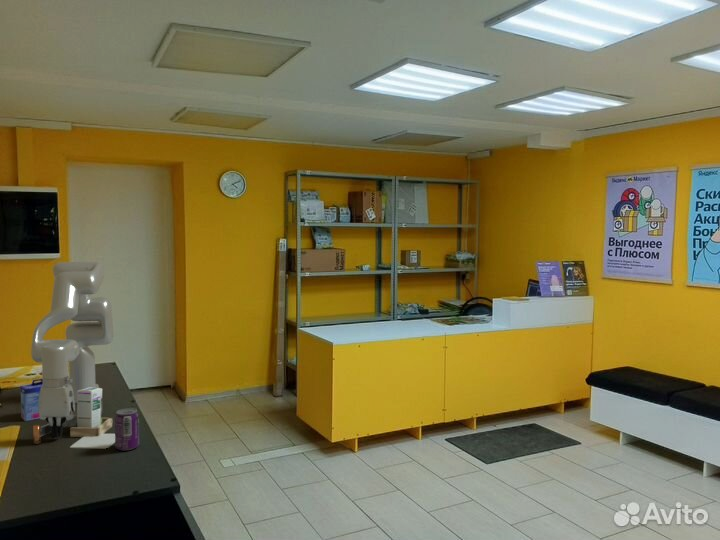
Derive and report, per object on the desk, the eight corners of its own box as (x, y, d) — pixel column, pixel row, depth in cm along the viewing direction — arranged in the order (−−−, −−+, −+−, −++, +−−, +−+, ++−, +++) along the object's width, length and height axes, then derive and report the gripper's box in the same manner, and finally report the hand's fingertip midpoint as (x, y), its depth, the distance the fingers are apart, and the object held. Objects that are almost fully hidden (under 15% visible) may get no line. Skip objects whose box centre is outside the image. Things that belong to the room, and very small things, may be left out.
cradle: (86, 425, 203) (86, 417, 203) (113, 426, 203) (112, 417, 203) (70, 436, 192) (70, 428, 192) (98, 437, 192) (98, 428, 192)
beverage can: (144, 445, 185) (143, 409, 185) (128, 453, 179) (127, 415, 178) (126, 442, 188) (125, 406, 187) (110, 450, 181) (109, 413, 180)
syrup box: (91, 433, 194) (92, 390, 194) (76, 432, 195) (77, 389, 195) (102, 429, 200) (103, 387, 200) (87, 427, 201) (88, 386, 201)
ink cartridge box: (25, 422, 206) (23, 382, 205) (20, 418, 210) (18, 379, 209) (54, 415, 213) (53, 377, 212) (49, 412, 217) (48, 374, 216)
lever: (79, 424, 203) (79, 408, 203) (84, 425, 202) (84, 409, 202) (31, 443, 185) (31, 426, 185) (37, 444, 184) (36, 427, 184)
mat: (88, 434, 194) (88, 433, 194) (123, 434, 194) (123, 433, 194) (69, 448, 182) (69, 446, 182) (107, 448, 182) (107, 447, 182)
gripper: (83, 379, 192) (85, 432, 193) (39, 378, 191) (40, 432, 193) (73, 385, 184) (74, 440, 185) (26, 385, 184) (28, 440, 185)
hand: (57, 436), depth 189 cm, fingers closed
